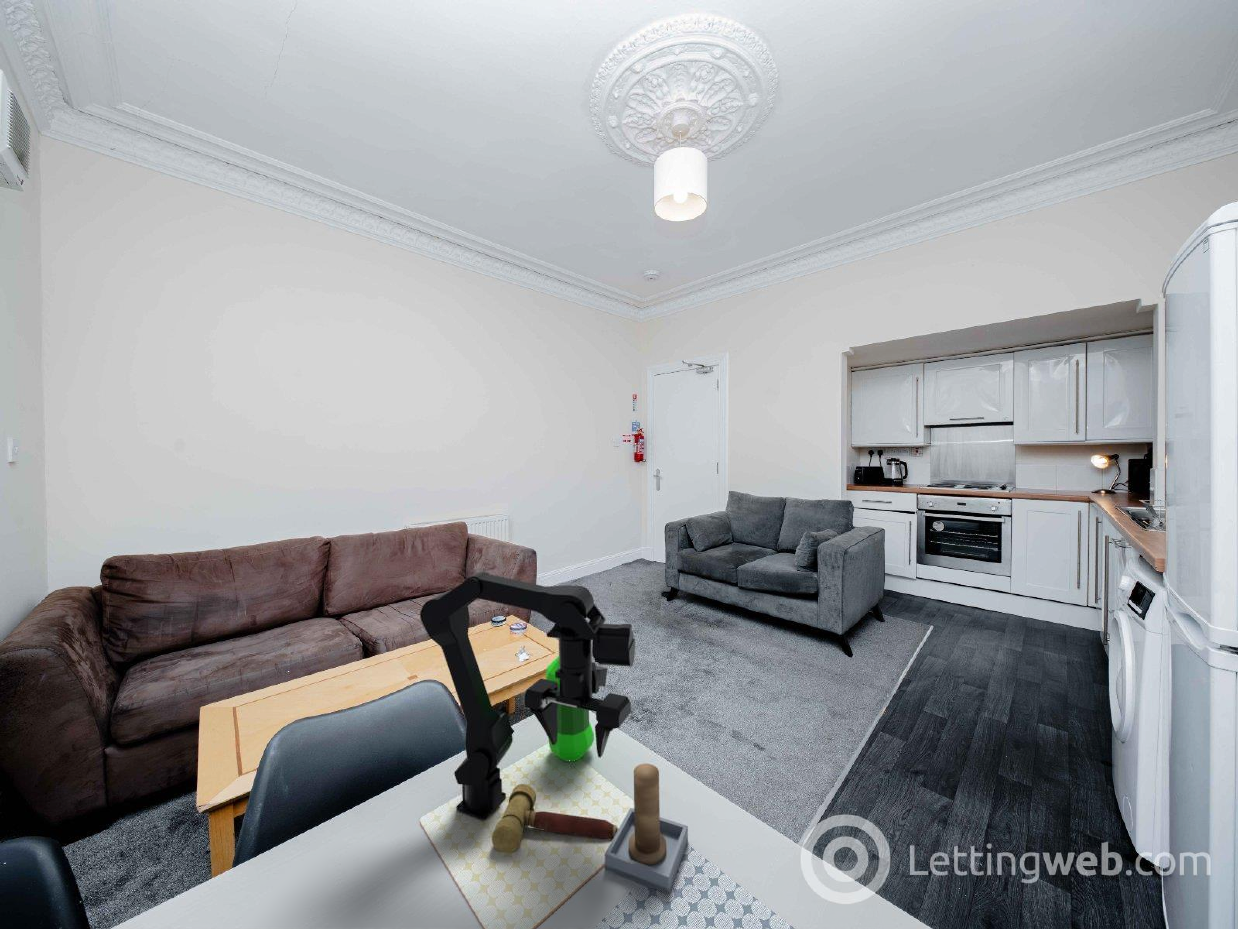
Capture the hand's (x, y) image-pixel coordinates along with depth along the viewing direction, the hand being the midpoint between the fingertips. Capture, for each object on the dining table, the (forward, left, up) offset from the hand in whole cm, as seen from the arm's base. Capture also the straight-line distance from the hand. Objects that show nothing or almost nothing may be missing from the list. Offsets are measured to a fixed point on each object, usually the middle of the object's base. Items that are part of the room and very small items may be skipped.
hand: (577, 749), depth 82 cm
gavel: (-1, -4, -13) cm, 13 cm away
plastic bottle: (-10, +15, -12) cm, 22 cm away
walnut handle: (+14, -3, -11) cm, 18 cm away
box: (+14, -3, -12) cm, 19 cm away
